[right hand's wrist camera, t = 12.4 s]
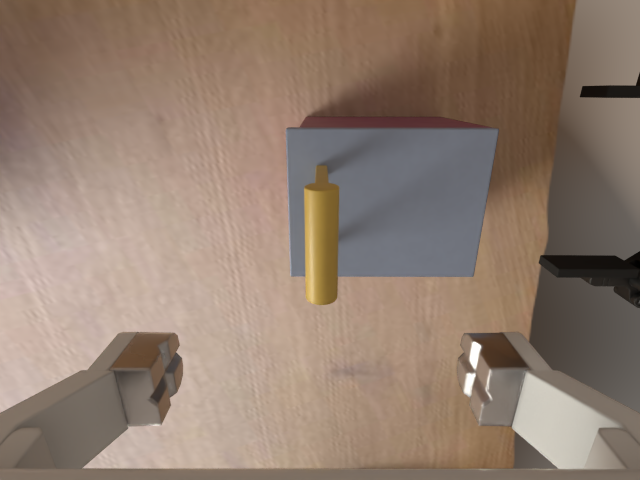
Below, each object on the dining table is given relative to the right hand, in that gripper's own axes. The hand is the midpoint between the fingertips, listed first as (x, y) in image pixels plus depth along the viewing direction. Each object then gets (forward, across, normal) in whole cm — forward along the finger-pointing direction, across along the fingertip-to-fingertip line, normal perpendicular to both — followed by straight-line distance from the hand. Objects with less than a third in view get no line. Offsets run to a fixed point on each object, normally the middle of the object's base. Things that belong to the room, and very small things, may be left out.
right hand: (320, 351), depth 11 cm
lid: (+15, +4, 0) cm, 16 cm away
